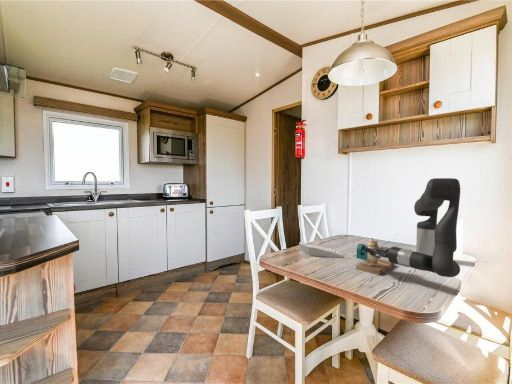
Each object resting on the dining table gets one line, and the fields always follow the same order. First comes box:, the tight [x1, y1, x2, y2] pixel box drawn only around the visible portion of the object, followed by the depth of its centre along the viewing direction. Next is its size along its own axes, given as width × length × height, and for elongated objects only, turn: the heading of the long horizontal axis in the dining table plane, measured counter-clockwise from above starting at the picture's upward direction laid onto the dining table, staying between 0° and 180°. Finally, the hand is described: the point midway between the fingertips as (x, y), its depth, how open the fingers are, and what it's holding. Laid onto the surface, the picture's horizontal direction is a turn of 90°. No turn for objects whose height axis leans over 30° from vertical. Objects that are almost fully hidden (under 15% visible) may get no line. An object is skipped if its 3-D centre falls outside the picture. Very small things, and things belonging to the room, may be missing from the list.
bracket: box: [356, 243, 368, 261], centre depth 147 cm, size 18×7×8 cm, turn 131°
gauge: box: [366, 238, 379, 264], centre depth 124 cm, size 5×5×12 cm
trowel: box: [298, 241, 344, 259], centre depth 152 cm, size 28×16×5 cm, turn 55°
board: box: [355, 257, 396, 276], centre depth 128 cm, size 20×11×2 cm, turn 133°
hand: (367, 248), depth 127 cm, fingers closed on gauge, 4 cm apart
